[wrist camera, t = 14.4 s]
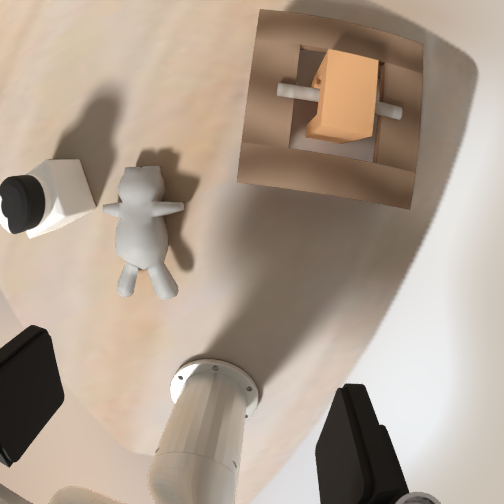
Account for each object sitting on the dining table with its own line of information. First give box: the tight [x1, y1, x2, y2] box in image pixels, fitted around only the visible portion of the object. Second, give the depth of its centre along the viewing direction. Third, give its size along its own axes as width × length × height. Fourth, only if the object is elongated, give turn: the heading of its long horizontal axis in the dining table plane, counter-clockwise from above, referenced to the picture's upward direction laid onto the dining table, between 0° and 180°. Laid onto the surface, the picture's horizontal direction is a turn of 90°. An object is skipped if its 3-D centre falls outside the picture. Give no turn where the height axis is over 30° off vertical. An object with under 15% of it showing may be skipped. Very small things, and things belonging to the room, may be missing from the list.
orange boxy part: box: [305, 49, 378, 144], centre depth 26 cm, size 6×4×11 cm, turn 173°
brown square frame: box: [237, 9, 423, 210], centre depth 28 cm, size 17×16×9 cm
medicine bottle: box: [0, 159, 96, 238], centre depth 30 cm, size 7×7×12 cm
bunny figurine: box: [102, 165, 184, 300], centre depth 35 cm, size 10×5×15 cm
